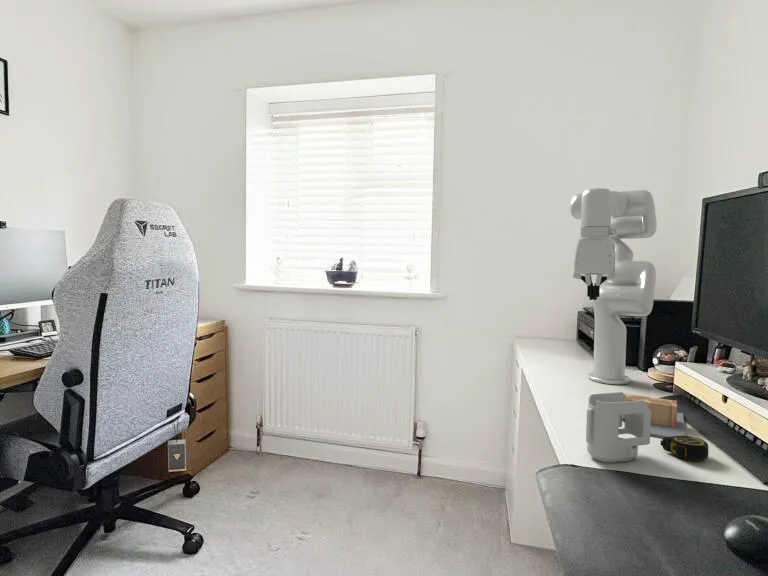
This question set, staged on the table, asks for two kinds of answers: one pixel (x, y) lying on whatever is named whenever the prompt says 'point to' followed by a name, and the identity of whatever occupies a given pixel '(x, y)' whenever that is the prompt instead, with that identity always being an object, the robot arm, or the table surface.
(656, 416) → the oak block
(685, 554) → the table surface
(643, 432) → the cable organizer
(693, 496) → the table surface
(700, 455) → the tape measure
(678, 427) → the rubber mat
